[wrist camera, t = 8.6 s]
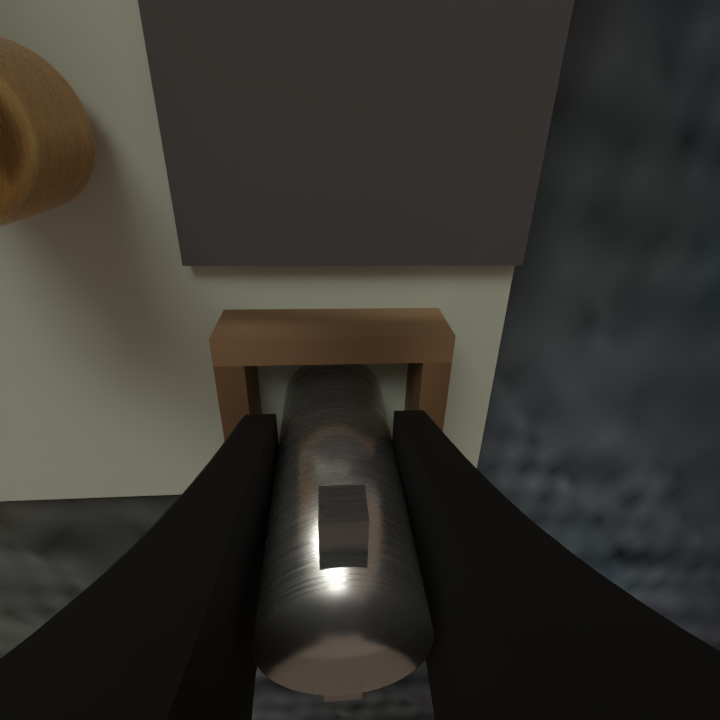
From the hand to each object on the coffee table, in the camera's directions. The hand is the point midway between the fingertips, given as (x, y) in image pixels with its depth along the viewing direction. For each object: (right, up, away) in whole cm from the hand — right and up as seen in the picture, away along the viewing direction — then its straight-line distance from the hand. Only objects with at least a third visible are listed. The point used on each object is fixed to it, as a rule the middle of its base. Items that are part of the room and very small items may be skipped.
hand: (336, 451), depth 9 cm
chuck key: (0, +1, +2) cm, 2 cm away
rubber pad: (+1, +7, -2) cm, 7 cm away
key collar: (0, +1, +2) cm, 2 cm away
